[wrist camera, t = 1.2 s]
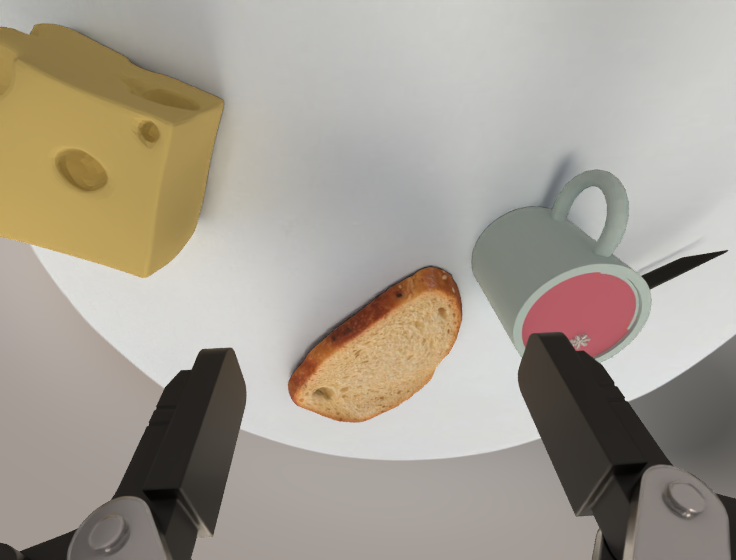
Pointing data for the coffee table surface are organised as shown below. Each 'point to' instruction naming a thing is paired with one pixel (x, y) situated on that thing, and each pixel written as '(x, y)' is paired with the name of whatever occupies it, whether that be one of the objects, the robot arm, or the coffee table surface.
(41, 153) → the cheese
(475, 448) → the coffee table surface
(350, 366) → the slice of bread
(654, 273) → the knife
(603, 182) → the mug
